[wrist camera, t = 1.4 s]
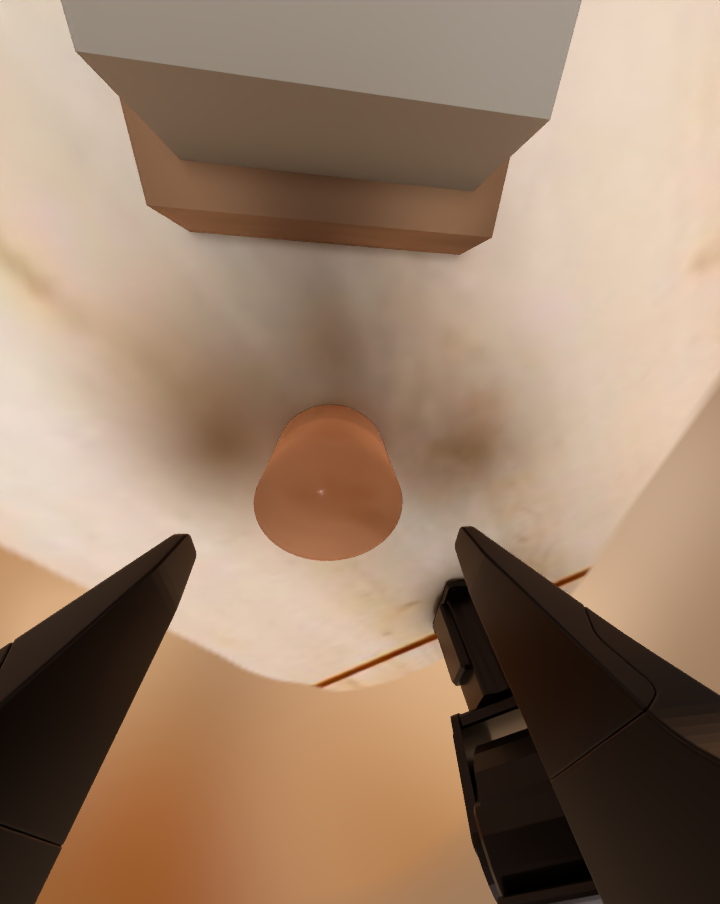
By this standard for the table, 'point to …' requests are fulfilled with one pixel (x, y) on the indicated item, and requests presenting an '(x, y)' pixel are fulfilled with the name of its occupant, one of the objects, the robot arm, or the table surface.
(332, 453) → the cylinder
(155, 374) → the table surface
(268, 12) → the top slab
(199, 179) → the base slab
